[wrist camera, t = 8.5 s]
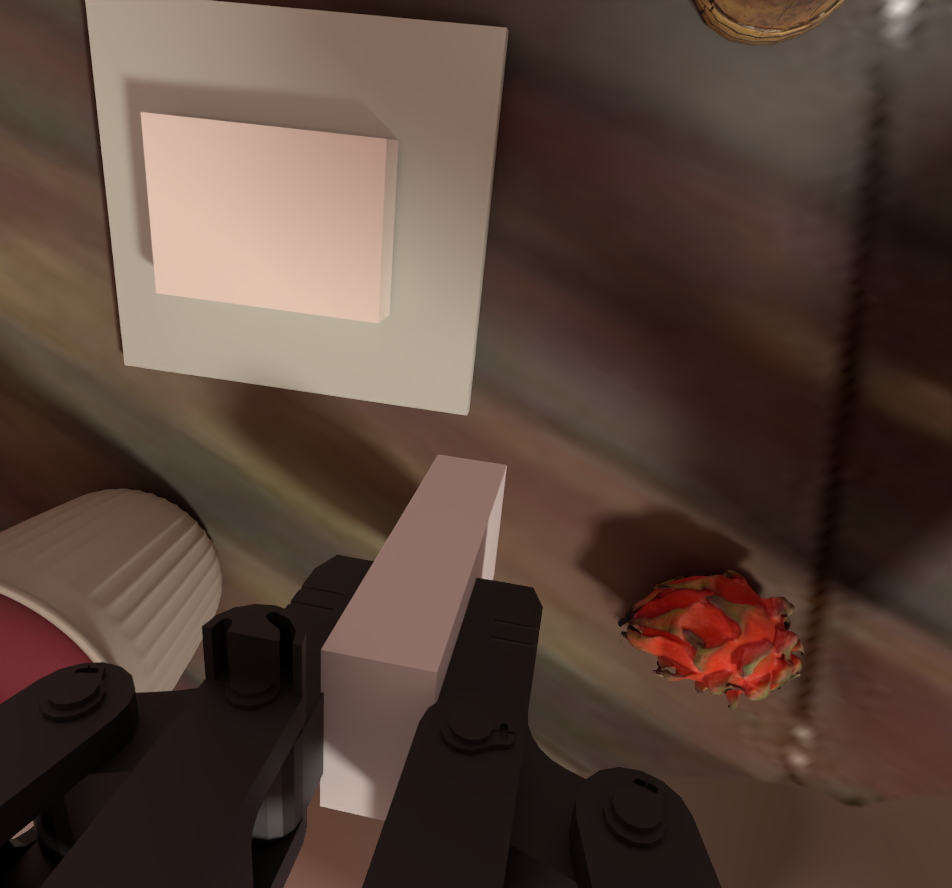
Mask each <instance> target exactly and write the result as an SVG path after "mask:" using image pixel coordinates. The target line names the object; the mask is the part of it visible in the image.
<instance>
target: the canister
mask: <svg viewBox="0 0 952 888" xmlns="http://www.w3.org/2000/svg"><path fill="white" fill-rule="evenodd" d="M222 578H223V577H222V573H221V563H220V562H219V560H218V554H217V551H216V550H215V549H214V547H213V543H212V541H211V540H210V539H209V538H208V536H207V535H206V531H205V530H203V529H202V528H201V527H200V526H199V525H198V522H197V521H195V520H194V519H192V518H191V517H190V516H189V514H188V512H185V511H183V510H181V509H180V508H179V507H178V505H176V504H173V503H170V502H169V501H167V499H165V498H160V497H157V496H156V495H155V494H153V493H145V492H143V491H141V490H129V489H125V488H123V489H116V490H115V489H106V490H101V491H98V492H92V493H89V494H85V495H83V496H80V497H78V498H75V499H73V500H71V501H68V502H66V503H64V504H62V505H59V506H57V507H55V508H52V509H50V510H48V511H46V512H43V513H41V514H39V515H37V516H35V517H32V518H30V519H28V520H26V521H24V522H21V523H19V524H17V525H15V526H13V527H11V528H9V529H7V530H4V531H2V532H0V704H1V703H3V702H4V701H6V700H7V699H9V698H10V697H12V696H14V695H15V694H17V693H18V692H20V691H21V690H23V689H24V688H26V687H28V686H29V685H31V684H32V683H34V682H35V681H37V680H39V679H41V678H43V677H45V676H47V675H49V674H51V673H53V672H55V671H57V670H59V669H62V668H66V667H69V666H73V665H77V664H81V663H95V662H105V663H109V664H113V665H117V666H121V667H122V668H124V669H125V670H126V671H127V672H129V673H130V674H131V675H132V677H133V681H134V686H135V691H136V693H140V692H159V691H172V690H173V688H174V686H175V685H176V683H177V682H178V680H179V678H180V677H181V675H182V673H183V671H184V670H185V668H186V666H187V665H188V663H189V661H190V660H191V658H192V656H193V654H194V653H195V651H196V649H197V647H198V645H199V644H200V642H201V640H202V638H203V636H202V626H203V625H204V624H206V623H207V622H208V621H209V620H211V619H212V618H213V617H214V615H215V613H216V611H217V609H218V605H219V600H220V597H221V593H222Z"/></svg>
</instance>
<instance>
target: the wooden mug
mask: <svg viewBox="0 0 952 888" xmlns="http://www.w3.org/2000/svg"><path fill="white" fill-rule="evenodd" d="M844 1H845V0H695V3H696V5H697V7H698V9H699V11H700V13H701V14H702V16H703V18H704V20H705V22H706V24H707V26H709V27H710V28H711V29H713V30H714V31H716V32H717V33H718V34H720V35H721V36H723V37H724V38H725V39H727V40H728V41H733V42H738V43H743V44H748V45H774V44H777V43H780V42H784V41H787V40H791V39H794V38H797V37H799V36H801V35H802V34H804V33H806V32H808V31H809V30H811V29H813V28H814V27H816V26H818V25H820V24H821V23H822V22H823V21H824V20H825V19H826V18H828V17H829V16H830V15H831V14H832V13H833V12H834V11H835V10H836V9H838V8H839V7H840V6H841V5H842V4H843V2H844Z"/></svg>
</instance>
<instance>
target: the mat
mask: <svg viewBox="0 0 952 888" xmlns="http://www.w3.org/2000/svg"><path fill="white" fill-rule="evenodd" d="M85 3H86V12H87V21H88V31H89V40H90V49H91V58H92V68H93V77H94V86H95V95H96V105H97V114H98V123H99V132H100V141H101V151H102V160H103V169H104V178H105V188H106V197H107V206H108V215H109V225H110V234H111V243H112V252H113V262H114V271H115V280H116V289H117V298H118V308H119V317H120V326H121V335H122V345H123V354H124V363H125V365H128V366H135V367H142V368H148V369H155V370H162V371H169V372H176V373H182V374H189V375H196V376H203V377H209V378H216V379H223V380H230V381H237V382H243V383H250V384H257V385H264V386H270V387H277V388H284V389H291V390H298V391H304V392H311V393H318V394H325V395H331V396H338V397H345V398H352V399H359V400H365V401H372V402H379V403H386V404H392V405H399V406H406V407H413V408H420V409H426V410H433V411H440V412H447V413H453V414H460V415H467V414H468V412H469V409H470V399H471V389H472V380H473V370H474V360H475V351H476V341H477V331H478V322H479V312H480V303H481V293H482V283H483V274H484V264H485V254H486V245H487V235H488V225H489V216H490V206H491V196H492V187H493V177H494V167H495V158H496V148H497V138H498V129H499V119H500V110H501V100H502V90H503V81H504V71H505V61H506V52H507V42H508V32H509V31H508V29H507V28H505V27H494V26H483V25H472V24H462V23H451V22H440V21H429V20H418V19H407V18H396V17H385V16H375V15H364V14H353V13H342V12H331V11H320V10H309V9H298V8H288V7H277V6H266V5H255V4H244V3H233V2H222V1H211V0H85ZM141 112H146V113H155V114H164V115H173V116H182V117H191V118H200V119H210V120H219V121H228V122H237V123H246V124H255V125H264V126H274V127H283V128H292V129H301V130H310V131H319V132H328V133H337V134H347V135H356V136H365V137H374V138H383V139H391V140H398V159H397V179H396V199H395V218H394V238H393V258H392V277H391V297H390V315H389V316H387V317H386V318H385V319H384V320H382V321H381V322H380V323H371V322H364V321H357V320H349V319H342V318H335V317H327V316H320V315H313V314H305V313H298V312H291V311H283V310H276V309H269V308H261V307H254V306H247V305H239V304H232V303H225V302H217V301H210V300H202V299H195V298H188V297H180V296H173V295H166V294H158V293H156V287H155V275H154V263H153V252H152V240H151V228H150V217H149V205H148V193H147V182H146V170H145V158H144V146H143V135H142V123H141Z"/></svg>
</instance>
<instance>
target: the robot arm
mask: <svg viewBox="0 0 952 888" xmlns="http://www.w3.org/2000/svg"><path fill="white" fill-rule="evenodd" d="M506 469H507V465H502V464H496V463H489V462H483V461H476V460H470V459H463V458H457V457H450V456H444V455H438V456H437V457H436V459H435V461H434V462H433V464H432V466H431V467H430V469H429V471H428V472H427V474H426V476H425V477H424V479H423V481H422V482H421V484H420V486H419V487H418V489H417V491H416V492H415V494H414V496H413V497H412V499H411V501H410V502H409V504H408V506H407V507H406V509H405V511H404V512H403V514H402V516H401V517H400V519H399V521H398V522H397V524H396V526H395V527H394V529H393V531H392V532H391V534H390V536H389V537H388V539H387V541H386V542H385V544H384V546H383V547H382V549H381V551H380V552H379V554H378V556H377V557H376V559H375V561H369V560H363V559H357V558H352V557H346V556H341V555H336V556H335V557H333V558H331V559H330V560H328V561H326V562H325V563H323V564H321V565H320V566H318V567H316V568H315V569H314V570H313V572H312V573H311V574H310V576H309V577H308V578H307V580H306V581H305V582H304V584H303V585H302V588H301V590H300V589H299V591H298V592H297V593H296V595H295V596H294V597H293V599H292V600H291V603H290V605H289V604H288V605H287V607H286V608H285V609H284V608H281V607H278V606H275V605H261V604H253V605H247V606H241V607H235V608H232V609H230V610H228V611H225V612H223V613H220V614H218V615H216V616H214V617H213V618H212V619H211V620H209V621H208V622H207V623H206V624H204V625H203V626H202V636H203V649H204V662H205V675H206V679H205V680H204V681H203V683H202V684H201V685H200V686H199V688H194V689H187V690H179V691H159V692H140V693H136V691H135V686H134V681H133V677H132V675H131V674H130V673H129V672H127V671H126V670H125V669H124V668H122V667H121V666H117V665H113V664H109V663H105V662H95V663H81V664H77V665H73V666H69V667H66V668H62V669H59V670H57V671H55V672H53V673H51V674H49V675H47V676H45V677H43V678H41V679H39V680H37V681H35V682H34V683H32V684H31V685H29V686H28V687H26V688H24V689H23V690H21V691H20V692H18V693H17V694H15V695H14V696H12V697H10V698H9V699H7V700H6V701H4V702H3V703H1V704H0V888H283V887H284V885H285V883H286V880H287V878H288V876H289V874H290V872H291V869H292V867H293V865H294V863H295V860H296V858H297V856H298V854H299V851H300V849H301V847H302V845H303V842H304V838H305V834H306V829H307V807H308V805H309V803H310V801H311V798H312V796H313V794H314V792H315V790H316V788H317V786H318V784H319V781H320V806H322V807H327V808H331V809H336V810H340V811H344V812H349V813H353V814H358V815H362V816H366V817H371V818H375V819H379V820H384V821H385V823H384V826H383V828H382V831H381V834H380V837H379V840H378V843H377V846H376V849H375V852H374V855H373V858H372V861H371V863H370V867H369V869H368V872H367V875H366V878H365V881H364V884H363V887H362V888H721V885H720V883H719V880H718V878H717V875H716V873H715V870H714V868H713V866H712V863H711V860H710V858H709V855H708V853H707V850H706V848H705V845H704V843H703V840H702V838H701V835H700V833H699V831H698V828H697V826H696V823H695V821H694V818H693V816H692V815H691V813H690V811H689V810H688V808H687V806H686V805H685V803H684V802H683V800H682V798H681V797H680V796H679V795H678V794H677V793H675V792H674V791H673V790H672V789H671V788H670V787H669V786H668V785H666V784H665V783H664V782H663V781H661V780H659V779H657V778H655V777H653V776H651V775H649V774H647V773H645V772H643V771H639V770H633V769H628V768H622V767H617V768H611V769H605V770H599V771H598V772H596V773H595V774H593V775H592V776H590V777H589V778H587V779H584V778H582V777H580V776H578V775H577V774H575V773H573V772H571V771H569V770H567V769H565V768H563V767H562V766H560V765H559V764H557V763H556V762H554V761H552V760H551V759H550V758H549V757H548V756H547V755H546V754H545V753H544V752H543V751H542V750H541V749H540V748H539V746H538V745H537V743H536V742H535V740H534V739H533V737H532V735H531V732H530V729H529V726H528V708H529V701H530V694H531V687H532V680H533V673H534V666H535V659H536V651H537V644H538V637H539V630H540V623H541V616H542V609H543V607H542V605H541V603H540V601H539V598H538V596H537V594H536V592H535V590H534V588H533V587H527V586H522V585H516V584H510V583H505V582H499V581H493V576H494V570H495V561H496V553H497V544H498V536H499V528H500V519H501V511H502V502H503V494H504V485H505V477H506ZM31 821H33V822H34V826H33V827H32V828H31V829H29V830H28V831H27V832H25V833H23V834H22V835H20V836H19V837H17V838H15V839H11V838H12V837H13V836H14V835H16V834H17V833H18V832H19V831H20V830H22V829H23V828H24V827H25V826H27V825H28V824H29V823H30V822H31Z"/></svg>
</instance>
